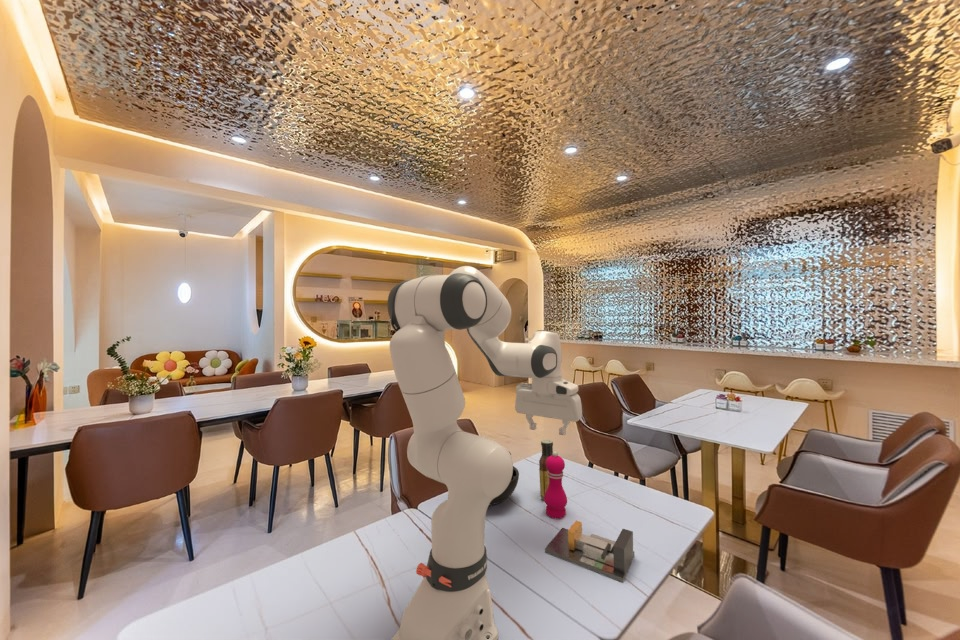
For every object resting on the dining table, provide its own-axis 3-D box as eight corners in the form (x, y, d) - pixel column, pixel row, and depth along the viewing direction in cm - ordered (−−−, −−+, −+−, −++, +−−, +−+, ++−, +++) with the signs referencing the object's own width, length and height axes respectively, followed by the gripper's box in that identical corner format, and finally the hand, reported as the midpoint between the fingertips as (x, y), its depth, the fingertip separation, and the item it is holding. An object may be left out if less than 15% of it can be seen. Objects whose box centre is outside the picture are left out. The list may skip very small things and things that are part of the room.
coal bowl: (527, 494, 130) (526, 441, 130) (505, 522, 112) (504, 461, 112) (477, 483, 139) (477, 434, 139) (450, 508, 121) (449, 451, 121)
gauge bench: (622, 582, 86) (622, 552, 86) (544, 552, 97) (544, 526, 97) (634, 555, 96) (634, 528, 96) (562, 530, 107) (562, 507, 107)
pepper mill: (569, 519, 113) (568, 455, 113) (546, 519, 113) (545, 455, 114) (564, 507, 121) (564, 447, 121) (542, 507, 121) (542, 447, 121)
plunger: (605, 570, 88) (605, 550, 88) (563, 554, 94) (563, 536, 94) (615, 551, 96) (615, 532, 96) (576, 537, 102) (576, 520, 102)
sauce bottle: (561, 498, 127) (561, 441, 127) (552, 504, 122) (551, 445, 123) (545, 492, 132) (545, 437, 132) (536, 498, 127) (535, 441, 127)
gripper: (510, 383, 111) (511, 428, 111) (575, 390, 99) (576, 440, 99) (520, 380, 116) (521, 423, 116) (583, 386, 105) (584, 434, 105)
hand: (547, 431), depth 108 cm, fingers open, 8 cm apart
